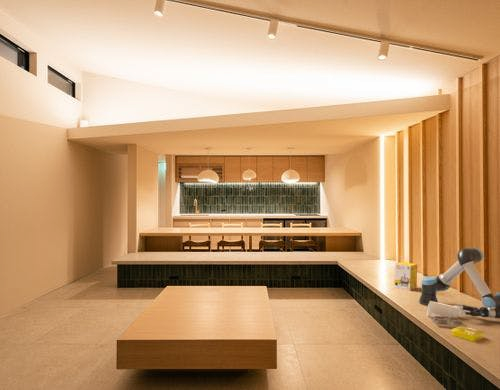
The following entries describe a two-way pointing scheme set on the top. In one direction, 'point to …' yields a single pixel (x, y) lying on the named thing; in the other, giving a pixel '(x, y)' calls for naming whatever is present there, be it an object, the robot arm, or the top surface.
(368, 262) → the top surface
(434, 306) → the shelf bracket
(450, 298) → the top surface
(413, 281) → the packaging box
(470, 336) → the element tile
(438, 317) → the hinge board
